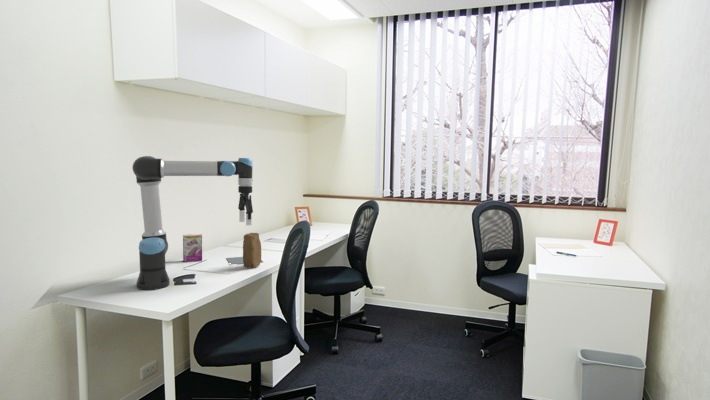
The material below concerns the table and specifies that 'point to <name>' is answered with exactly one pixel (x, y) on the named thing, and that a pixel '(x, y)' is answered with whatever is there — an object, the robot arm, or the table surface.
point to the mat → (236, 260)
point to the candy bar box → (192, 247)
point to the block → (251, 250)
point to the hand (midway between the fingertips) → (245, 223)
